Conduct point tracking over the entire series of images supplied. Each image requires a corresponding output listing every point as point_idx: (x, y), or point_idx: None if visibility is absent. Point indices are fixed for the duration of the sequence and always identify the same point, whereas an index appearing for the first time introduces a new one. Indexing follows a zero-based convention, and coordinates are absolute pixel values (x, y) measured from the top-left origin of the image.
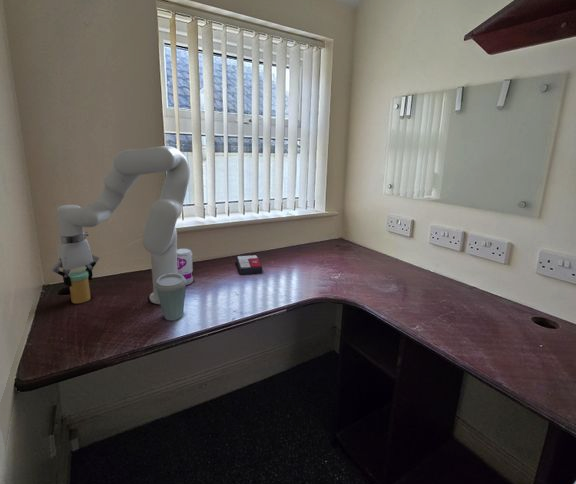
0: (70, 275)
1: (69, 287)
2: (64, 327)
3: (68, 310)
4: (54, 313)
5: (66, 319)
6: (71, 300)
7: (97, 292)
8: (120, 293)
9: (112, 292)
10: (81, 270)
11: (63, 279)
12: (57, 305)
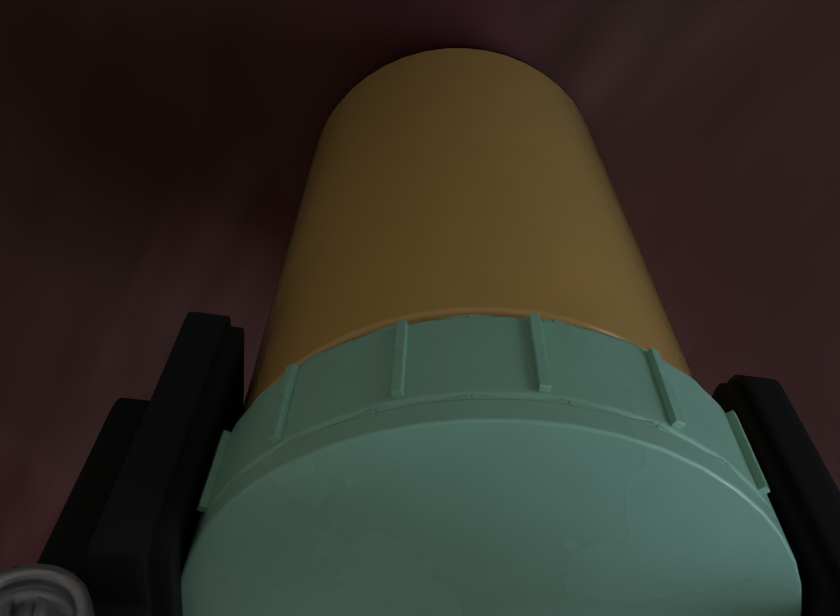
0: (271, 599)
1: (271, 308)
2: (9, 563)
3: (168, 329)
4: (2, 259)
5: (71, 473)
6: (310, 167)
7: (761, 179)
8: (823, 451)
9: (825, 356)
10: (749, 549)
11: (70, 501)
12: (112, 55)
